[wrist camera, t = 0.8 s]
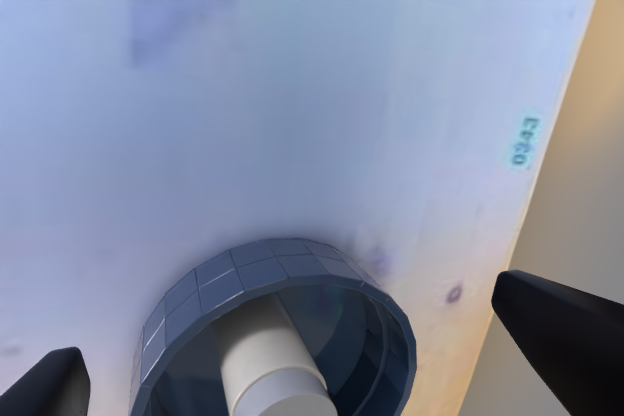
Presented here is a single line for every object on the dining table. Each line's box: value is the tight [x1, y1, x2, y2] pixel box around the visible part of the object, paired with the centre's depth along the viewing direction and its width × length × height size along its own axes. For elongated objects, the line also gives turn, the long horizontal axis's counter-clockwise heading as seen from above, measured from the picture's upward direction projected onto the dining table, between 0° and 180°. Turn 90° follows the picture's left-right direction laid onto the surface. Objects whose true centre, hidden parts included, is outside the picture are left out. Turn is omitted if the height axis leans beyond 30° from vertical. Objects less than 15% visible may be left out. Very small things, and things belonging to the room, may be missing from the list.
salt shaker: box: [211, 292, 337, 416], centre depth 20 cm, size 5×5×8 cm
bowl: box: [128, 239, 417, 416], centre depth 23 cm, size 16×16×5 cm
